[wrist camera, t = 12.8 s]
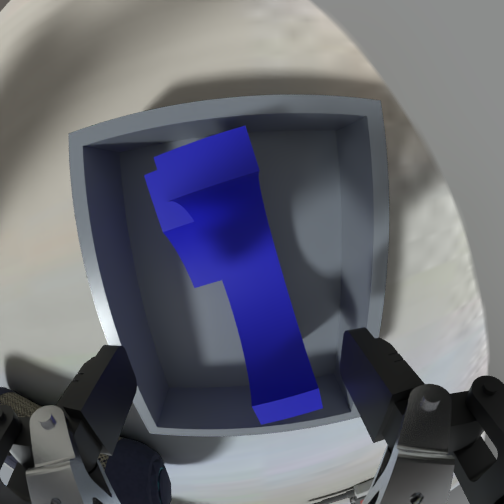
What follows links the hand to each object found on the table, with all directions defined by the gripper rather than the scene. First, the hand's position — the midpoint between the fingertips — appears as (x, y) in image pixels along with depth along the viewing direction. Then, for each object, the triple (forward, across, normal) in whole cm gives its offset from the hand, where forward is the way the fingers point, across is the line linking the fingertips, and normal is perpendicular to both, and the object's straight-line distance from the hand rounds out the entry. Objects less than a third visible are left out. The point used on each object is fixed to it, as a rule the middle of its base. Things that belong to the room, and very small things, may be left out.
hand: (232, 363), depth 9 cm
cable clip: (+7, 0, -2) cm, 7 cm away
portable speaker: (+8, +20, +17) cm, 28 cm away
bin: (+8, 0, -1) cm, 8 cm away
